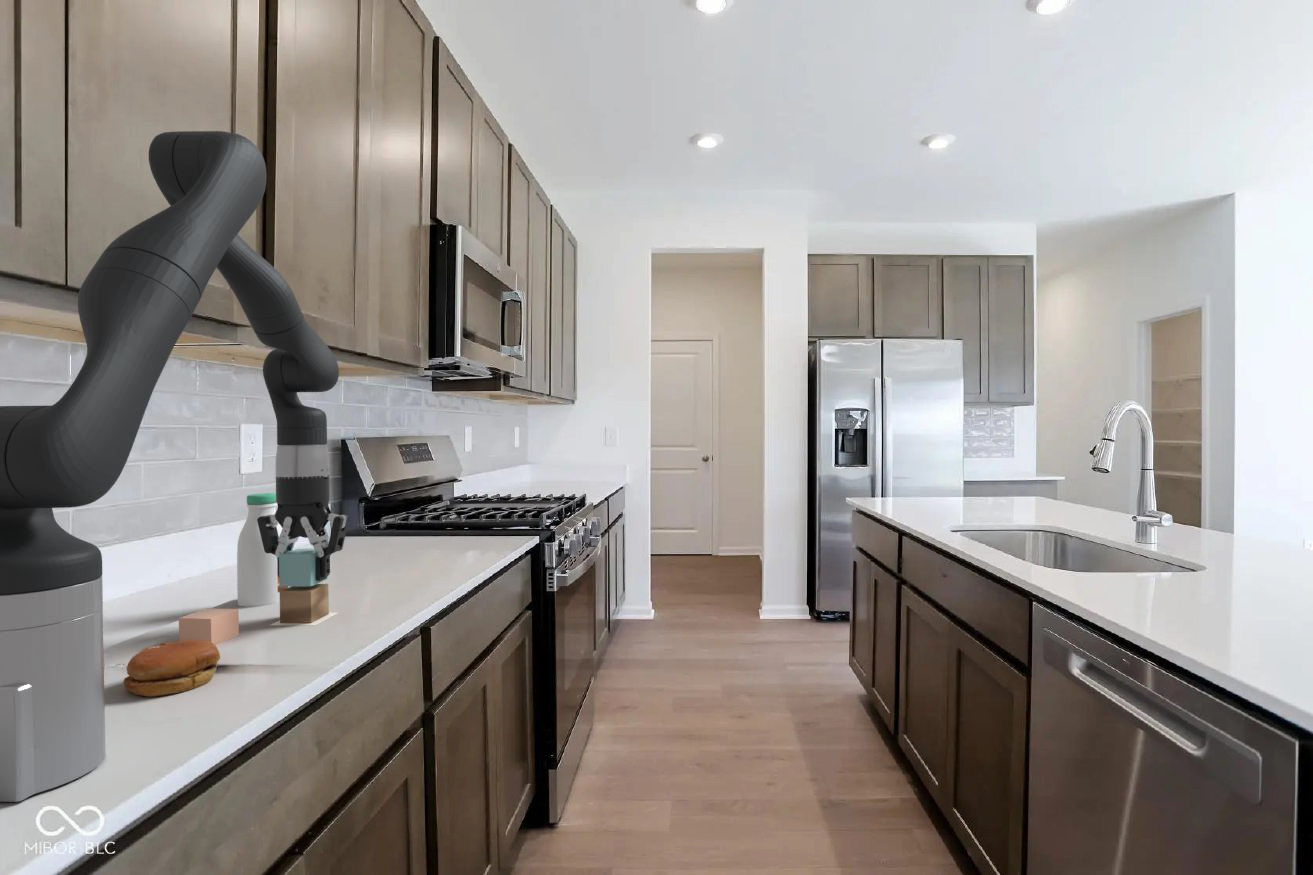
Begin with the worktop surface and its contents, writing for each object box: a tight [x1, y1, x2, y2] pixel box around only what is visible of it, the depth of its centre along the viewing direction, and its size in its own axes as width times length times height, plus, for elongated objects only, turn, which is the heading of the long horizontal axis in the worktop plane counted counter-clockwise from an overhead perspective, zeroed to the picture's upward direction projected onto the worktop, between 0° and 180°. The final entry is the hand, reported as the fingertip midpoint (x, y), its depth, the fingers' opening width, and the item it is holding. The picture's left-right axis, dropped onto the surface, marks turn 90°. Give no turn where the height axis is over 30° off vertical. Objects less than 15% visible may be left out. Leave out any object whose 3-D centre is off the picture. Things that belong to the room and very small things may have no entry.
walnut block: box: [279, 583, 330, 623], centre depth 104 cm, size 5×5×5 cm
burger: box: [122, 640, 221, 698], centre depth 80 cm, size 10×9×5 cm
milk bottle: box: [236, 492, 289, 608], centre depth 115 cm, size 8×8×20 cm
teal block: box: [279, 548, 329, 587], centre depth 104 cm, size 5×5×5 cm
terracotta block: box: [178, 608, 240, 646], centre depth 93 cm, size 5×5×5 cm
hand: (304, 579), depth 104 cm, fingers closed on teal block, 5 cm apart
